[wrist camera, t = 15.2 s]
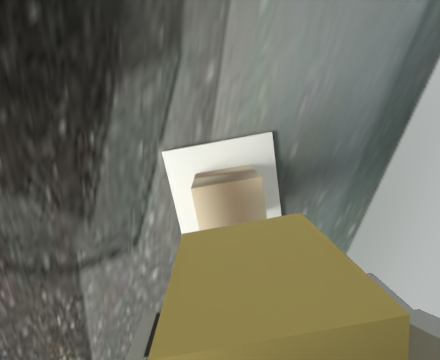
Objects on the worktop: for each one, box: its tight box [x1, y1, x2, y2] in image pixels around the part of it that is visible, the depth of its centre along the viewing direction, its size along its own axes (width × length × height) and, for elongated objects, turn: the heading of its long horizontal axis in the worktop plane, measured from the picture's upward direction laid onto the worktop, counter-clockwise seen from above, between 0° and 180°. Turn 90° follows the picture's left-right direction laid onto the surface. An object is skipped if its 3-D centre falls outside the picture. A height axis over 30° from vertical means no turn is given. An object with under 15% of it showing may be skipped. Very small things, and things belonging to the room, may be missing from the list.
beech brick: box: [191, 164, 267, 230], centre depth 18 cm, size 5×5×5 cm
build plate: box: [162, 132, 281, 234], centre depth 21 cm, size 10×10×1 cm
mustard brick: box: [148, 213, 410, 360], centre depth 7 cm, size 5×5×5 cm
